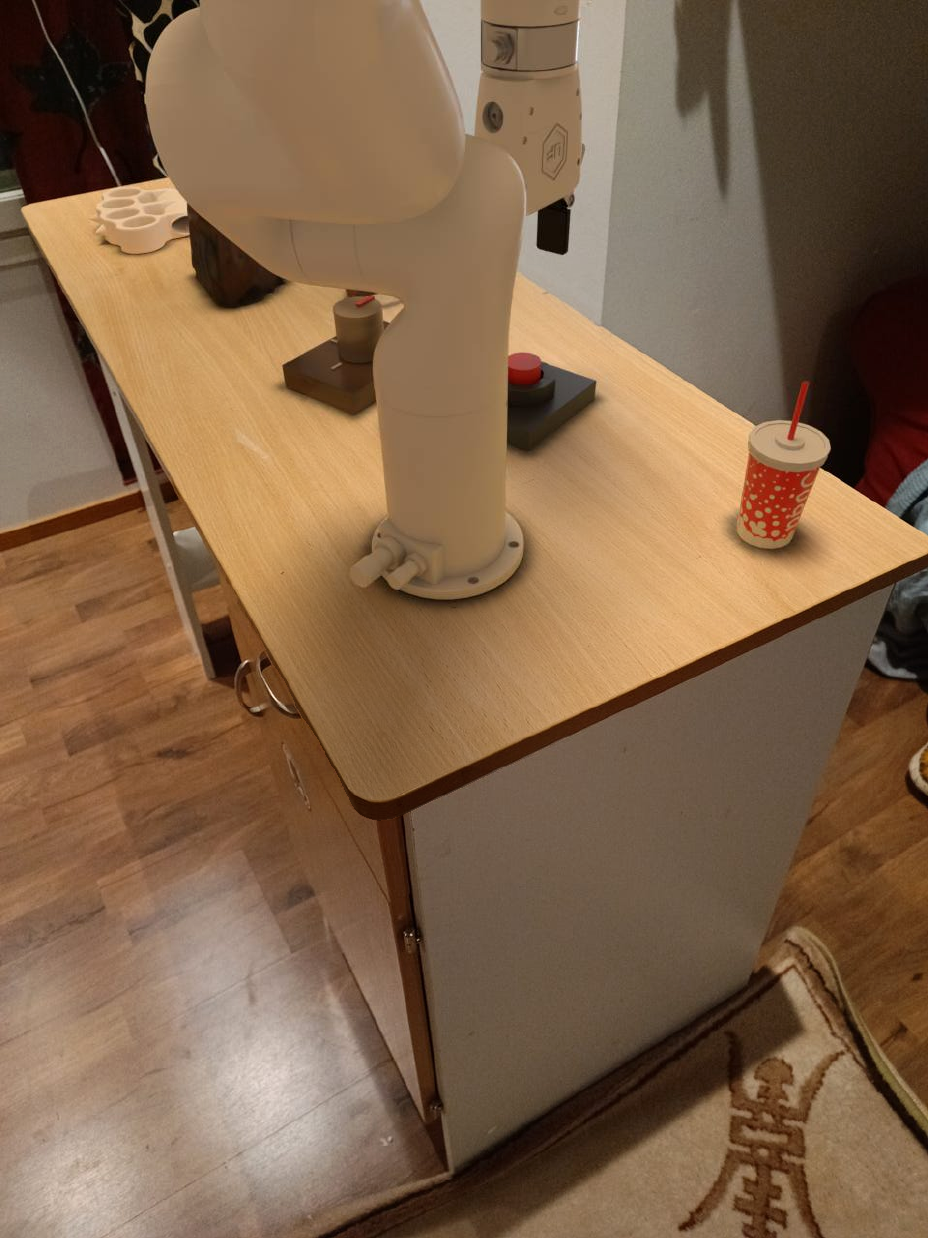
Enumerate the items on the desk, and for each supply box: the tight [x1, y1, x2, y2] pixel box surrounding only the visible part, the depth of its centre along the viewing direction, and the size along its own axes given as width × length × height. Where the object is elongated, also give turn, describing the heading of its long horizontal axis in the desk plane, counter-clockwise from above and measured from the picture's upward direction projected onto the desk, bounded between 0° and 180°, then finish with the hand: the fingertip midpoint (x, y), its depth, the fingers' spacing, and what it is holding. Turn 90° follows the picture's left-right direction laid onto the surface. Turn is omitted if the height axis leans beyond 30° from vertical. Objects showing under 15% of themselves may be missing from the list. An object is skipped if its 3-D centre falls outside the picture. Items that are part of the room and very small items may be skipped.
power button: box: [508, 351, 542, 385], centre depth 86 cm, size 4×4×2 cm
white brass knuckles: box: [88, 186, 190, 255], centre depth 125 cm, size 3×18×15 cm
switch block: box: [507, 360, 597, 453], centre depth 88 cm, size 12×10×4 cm
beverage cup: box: [736, 380, 832, 550], centre depth 69 cm, size 6×6×14 cm
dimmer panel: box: [281, 320, 390, 416], centre depth 94 cm, size 14×10×3 cm
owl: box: [187, 203, 286, 309], centre depth 104 cm, size 13×13×20 cm
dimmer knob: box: [332, 295, 384, 363], centre depth 91 cm, size 5×5×5 cm
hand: (522, 268), depth 79 cm, fingers open, 9 cm apart
